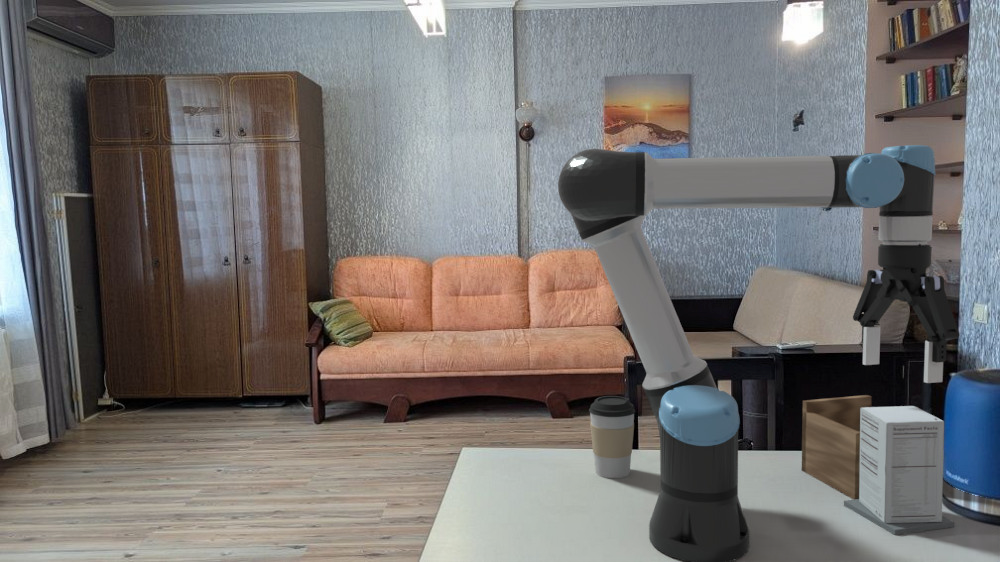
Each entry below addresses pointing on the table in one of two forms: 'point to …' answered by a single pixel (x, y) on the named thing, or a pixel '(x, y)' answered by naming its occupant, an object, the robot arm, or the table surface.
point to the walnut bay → (833, 441)
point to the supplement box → (901, 464)
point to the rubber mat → (896, 527)
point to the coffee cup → (612, 435)
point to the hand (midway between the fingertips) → (900, 372)
